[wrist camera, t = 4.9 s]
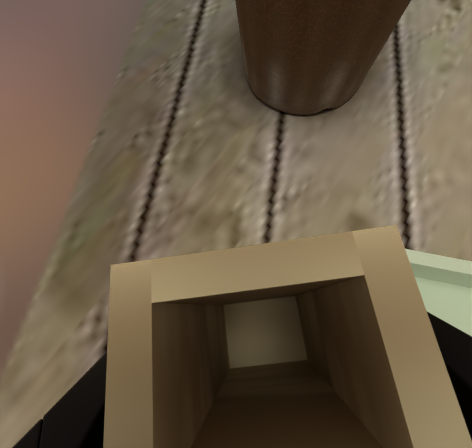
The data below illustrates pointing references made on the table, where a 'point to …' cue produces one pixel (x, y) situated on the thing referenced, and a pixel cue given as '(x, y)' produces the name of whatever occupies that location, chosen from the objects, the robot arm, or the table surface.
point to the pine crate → (277, 350)
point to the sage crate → (444, 287)
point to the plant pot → (312, 48)
